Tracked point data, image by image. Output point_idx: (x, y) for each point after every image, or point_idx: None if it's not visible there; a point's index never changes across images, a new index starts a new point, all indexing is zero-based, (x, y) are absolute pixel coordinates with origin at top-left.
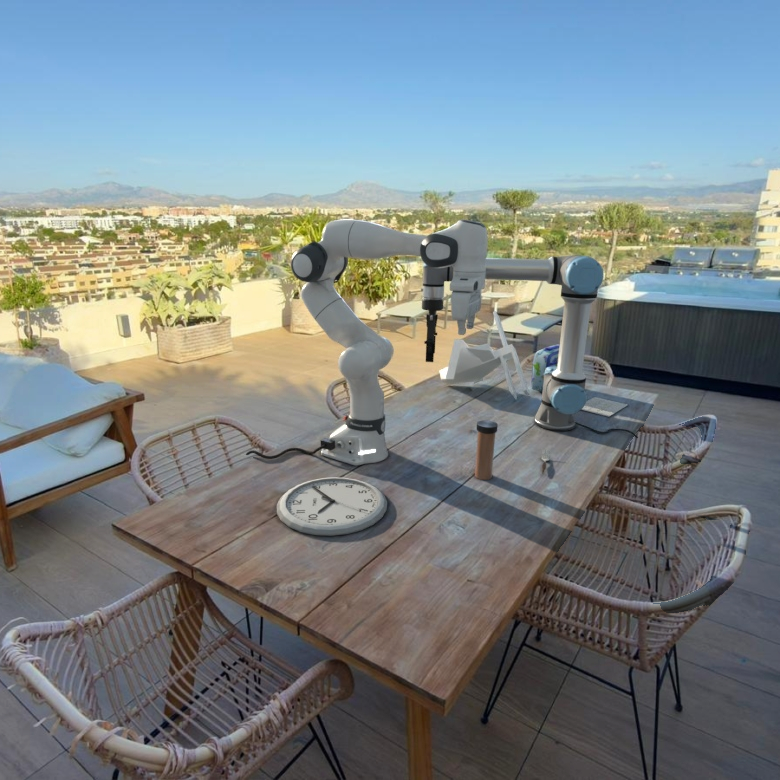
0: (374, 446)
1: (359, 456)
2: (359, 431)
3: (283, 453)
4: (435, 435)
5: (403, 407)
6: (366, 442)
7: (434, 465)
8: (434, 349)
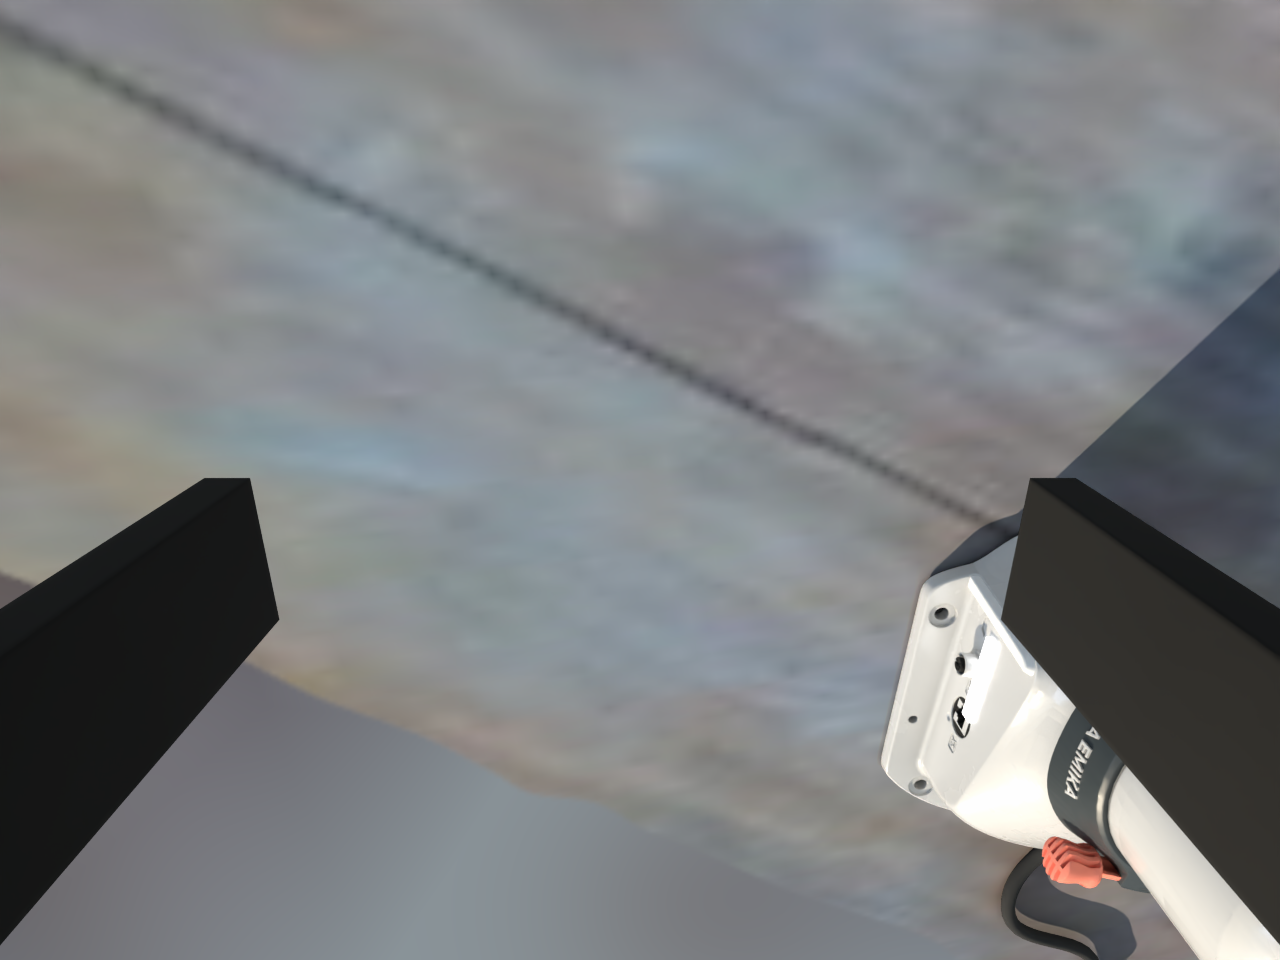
0: None
1: None
2: None
3: (1054, 936)
4: (749, 248)
5: None
6: None
7: (1246, 236)
8: (203, 524)
